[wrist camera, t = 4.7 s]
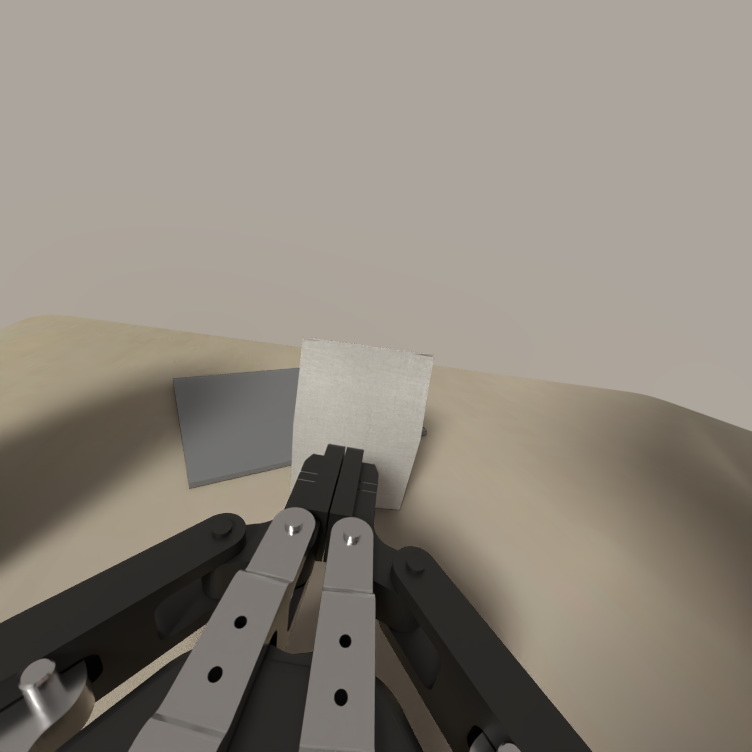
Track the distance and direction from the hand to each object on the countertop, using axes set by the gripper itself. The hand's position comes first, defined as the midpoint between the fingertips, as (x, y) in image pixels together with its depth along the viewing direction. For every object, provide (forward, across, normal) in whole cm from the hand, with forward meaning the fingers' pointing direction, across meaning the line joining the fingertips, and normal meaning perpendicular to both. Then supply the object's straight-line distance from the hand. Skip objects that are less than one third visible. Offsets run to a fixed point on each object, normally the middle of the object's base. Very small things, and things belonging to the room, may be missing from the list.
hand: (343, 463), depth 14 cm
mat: (+15, +6, +7) cm, 17 cm away
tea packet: (+7, 0, +7) cm, 10 cm away
